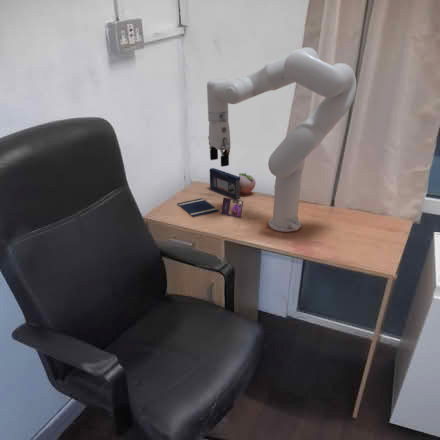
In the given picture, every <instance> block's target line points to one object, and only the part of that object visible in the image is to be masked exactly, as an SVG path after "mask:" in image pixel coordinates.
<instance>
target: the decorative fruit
mask: <svg viewBox="0 0 440 440" xmlns="http://www.w3.org/2000/svg"><path fill="white" fill-rule="evenodd" d="M238 177H240V193H243V194H245V195H246V194H249V193H251V192H252V191H253V190H254V189H255V187H256V179H255V178H254V177H253V176H252V175H249V174H247V172H245V173H244V172H241V173H240V172H239V174H238Z"/></svg>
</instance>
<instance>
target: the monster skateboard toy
mask: <svg viewBox="0 0 440 440" xmlns="http://www.w3.org/2000/svg"><path fill="white" fill-rule="evenodd" d="M231 202H232V203H233V204H232V208H231ZM243 206H244V201H243V200H240V199H236V200H235V199H233V198H230V197H223V198H222V205H221V211H220V214H222V215H226V216H231V217H235V218H242V212H243ZM230 208H231V209H230ZM230 211H231V212H233V213H237V214H236V215H235V214H231V213H230Z"/></svg>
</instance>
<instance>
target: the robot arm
mask: <svg viewBox="0 0 440 440" xmlns="http://www.w3.org/2000/svg"><path fill="white" fill-rule="evenodd" d="M294 83H296V84H298V85H299V86H301V87H304V88H305V89H307V90H309V91H311V92H313V93H315V94H317V95H319V96H321V97H324V99H322V101H321V102H320V103H319V104H318V105H317V106H316V108H315V109H314V110H313V112H311V114H310V115H309V116H307V118H306V119H305V120H303V121H301V122H300V123H299V124H298V125H295V127H294V128H292V129H291V130H290V131H289V133H287V135H286V136H285V137H284V139H283V140H282V141H281V142H280V143H279V145H278V146H277V147H276V148H275V149H274V151H272V153H271V154H270V155H269V158H268V161H267V165H268V166H267V167H268V169H269V172H270V174H272V175H273V176H274V177H275V179H274V181H275V182H274V194H273V195H274V197H273V211H272V218H270V219H269V220H268V227H269V228H270V229H272V230H274V231H278V232H281V233H287V232H288V233H290V232H295V231H298V230H299V229H300V228H301V227H302V225H303V224H302V223H301V221H300V217H299V205H300V198H301V197H300V196H301V188H302V187H301V185H302V178H303V173H304V167H305V162H306V159H307V157H308V156H309V155H311V153H312V152H313V151H314V150H315V149H316V148H318V146H320V144H321V143H322V142H323V140H325V137H327V135H329V133H330V132H331V131H332V130H333V129H334V128H335V126H336V125H337V124H338V123H339V122H340V121H341V120H342V118H343V117H344V116H345V115H346V114H347V113H348V111H349V109H351V106H352V105H353V102H354V100H355V97H356V93H357V78H356V75H355V71H354V70H353V68H352V67H351V66H350V65H348V64H347V63H344V62H338V63H337V62H336V63H335V64H330V63H328V62H325V61H323V60H321V59H320V57H319V54H318V52H317V51H316V50H315V49H314V48H312V47H309V46H306V47H301V48H297V49H294V50H292V51H291V52H290V53H288V54H286V55H284V56H281V57H278V58H277V59H274V60H272V61H269V62H268V63H266V64H265V65H264V67H262V68H260V69H258V70H257V71H254V72H251V73H249V74H247V75H245V76H242V77H238V78H235V79H232V80H227V79H225V78H211V79H209V80H208V81H207V83H206V96H207V97H206V98H207V99H206V100H207V120H208V136H207V138H208V139H207V140H208V144H209V159H210V161H215V160H219V151H220V154H221V155H220V167H227V166H230V152H231V131H230V123H229V105H236V104H240V103H242V102H245V101H247V100H249V99H252V98H254V97H257V96H259V95H261V94H262V95H263V94H264V93H267V92H270V91H277V90H279V89H282V88H284V87H286V86H287V87H288V86H289V85H292V84H294Z"/></svg>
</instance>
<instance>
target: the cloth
mask: <svg viewBox="0 0 440 440" xmlns="http://www.w3.org/2000/svg"><path fill="white" fill-rule="evenodd" d="M177 205H178V206H179V207H180V208H182V209H183V210H184V211H185V212H187V213H188V214H189V216H191V217H193V218H195V217H199V216H203V215H207V214H212V213H213V214H214V213H218V212H219V209H218V208H217V207H215V206H213V204H211V203H209V202H208V201H207V200H205V199H203V197H202V198H197V199H192V200H186V201H182V202H177Z"/></svg>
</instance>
